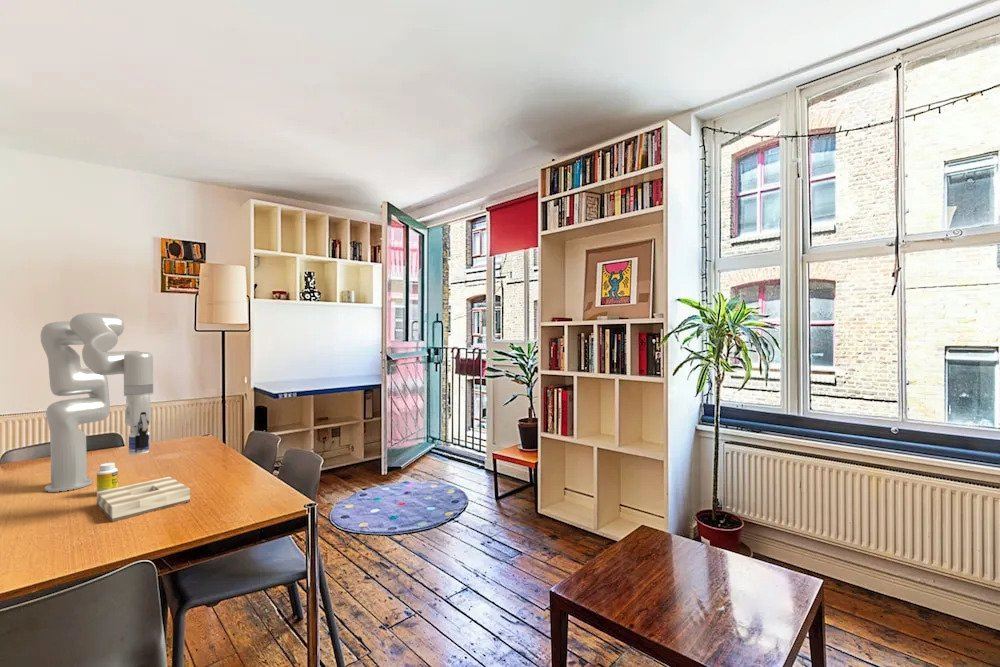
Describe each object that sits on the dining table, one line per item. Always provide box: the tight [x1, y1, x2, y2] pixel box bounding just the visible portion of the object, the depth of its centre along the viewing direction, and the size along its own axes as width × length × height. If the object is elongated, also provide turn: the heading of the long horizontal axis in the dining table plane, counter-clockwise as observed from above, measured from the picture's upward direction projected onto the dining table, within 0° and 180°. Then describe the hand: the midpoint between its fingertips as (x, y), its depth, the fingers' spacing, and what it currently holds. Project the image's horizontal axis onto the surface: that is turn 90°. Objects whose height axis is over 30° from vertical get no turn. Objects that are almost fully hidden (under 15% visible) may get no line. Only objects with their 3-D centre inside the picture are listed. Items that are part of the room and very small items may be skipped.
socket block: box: [96, 476, 191, 523], centre depth 150 cm, size 20×20×4 cm
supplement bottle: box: [96, 462, 119, 493], centre depth 160 cm, size 6×6×10 cm
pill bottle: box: [128, 425, 150, 456], centre depth 149 cm, size 5×5×9 cm
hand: (139, 445), depth 149 cm, fingers closed on pill bottle, 5 cm apart
